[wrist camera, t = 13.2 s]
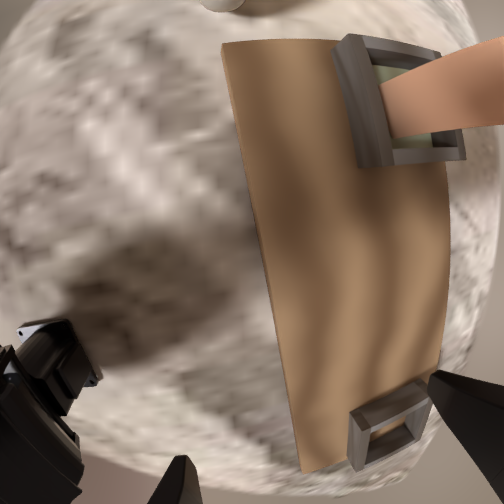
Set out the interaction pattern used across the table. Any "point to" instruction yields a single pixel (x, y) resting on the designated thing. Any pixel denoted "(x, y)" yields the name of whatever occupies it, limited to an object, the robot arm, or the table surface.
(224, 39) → the table surface
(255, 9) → the table surface
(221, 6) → the donut
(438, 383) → the robot arm
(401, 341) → the puzzle board
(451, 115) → the block
